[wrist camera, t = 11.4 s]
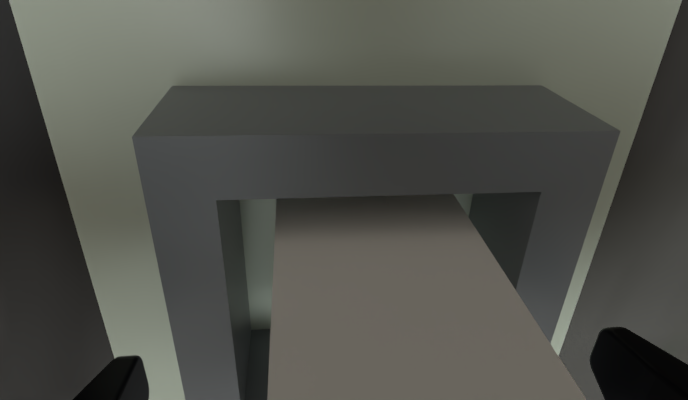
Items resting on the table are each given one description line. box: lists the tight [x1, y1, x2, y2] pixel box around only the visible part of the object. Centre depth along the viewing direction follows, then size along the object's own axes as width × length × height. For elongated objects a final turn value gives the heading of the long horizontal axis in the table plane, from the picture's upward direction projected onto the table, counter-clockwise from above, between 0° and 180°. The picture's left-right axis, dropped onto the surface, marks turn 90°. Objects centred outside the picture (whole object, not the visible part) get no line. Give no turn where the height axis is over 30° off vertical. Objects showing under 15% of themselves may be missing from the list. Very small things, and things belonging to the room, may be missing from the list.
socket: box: [9, 0, 682, 400], centre depth 12 cm, size 14×14×4 cm
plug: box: [267, 194, 586, 400], centre depth 9 cm, size 4×4×8 cm
